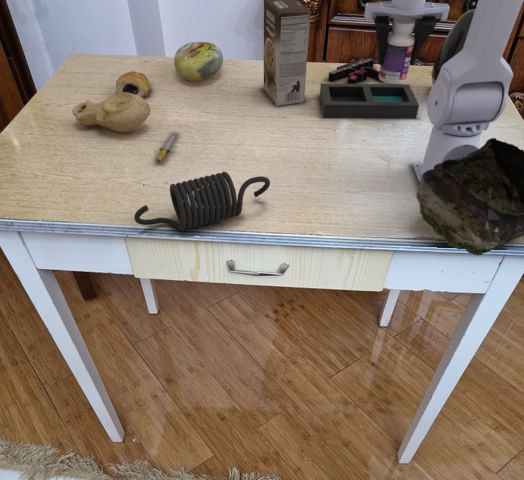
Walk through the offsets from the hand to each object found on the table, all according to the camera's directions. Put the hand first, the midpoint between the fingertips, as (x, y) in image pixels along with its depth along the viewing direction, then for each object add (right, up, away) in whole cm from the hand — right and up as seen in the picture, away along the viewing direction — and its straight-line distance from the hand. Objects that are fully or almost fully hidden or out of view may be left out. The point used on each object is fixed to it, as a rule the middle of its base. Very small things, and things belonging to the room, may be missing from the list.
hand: (395, 63), depth 88 cm
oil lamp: (-53, -12, 0) cm, 55 cm away
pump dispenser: (+15, -1, +10) cm, 18 cm away
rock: (+7, -32, -28) cm, 43 cm away
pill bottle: (0, -2, +2) cm, 3 cm away
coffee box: (-21, -1, +10) cm, 23 cm away
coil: (-35, -29, -18) cm, 49 cm away
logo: (-6, +10, +17) cm, 21 cm away
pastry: (-53, 0, +10) cm, 54 cm away
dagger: (-44, -18, -5) cm, 48 cm away
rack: (-4, -5, +6) cm, 9 cm away
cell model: (-39, +3, +12) cm, 41 cm away
